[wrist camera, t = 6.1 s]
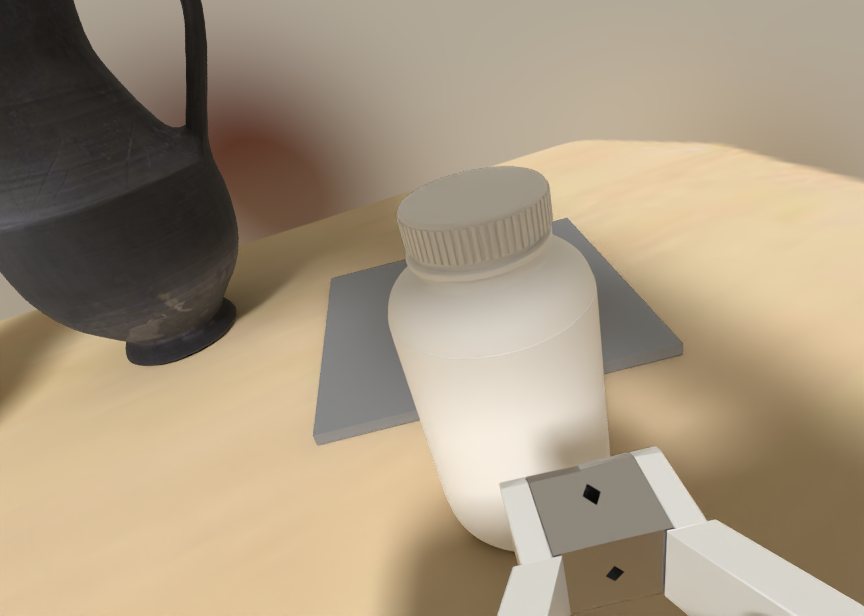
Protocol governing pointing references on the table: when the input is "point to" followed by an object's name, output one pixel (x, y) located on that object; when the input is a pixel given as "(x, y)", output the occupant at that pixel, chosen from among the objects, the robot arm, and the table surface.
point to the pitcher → (109, 191)
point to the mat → (380, 365)
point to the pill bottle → (497, 339)
